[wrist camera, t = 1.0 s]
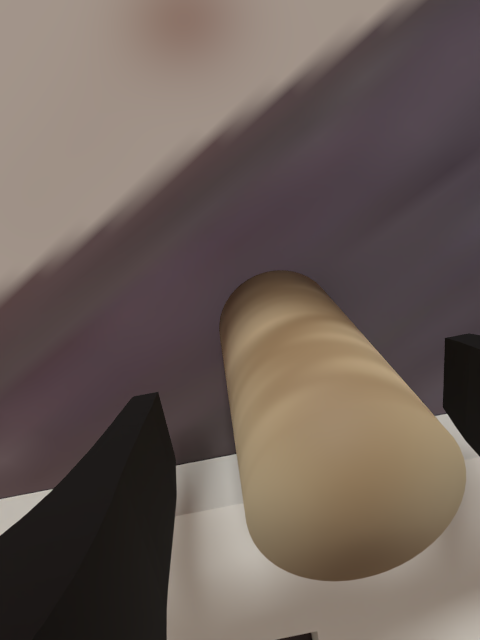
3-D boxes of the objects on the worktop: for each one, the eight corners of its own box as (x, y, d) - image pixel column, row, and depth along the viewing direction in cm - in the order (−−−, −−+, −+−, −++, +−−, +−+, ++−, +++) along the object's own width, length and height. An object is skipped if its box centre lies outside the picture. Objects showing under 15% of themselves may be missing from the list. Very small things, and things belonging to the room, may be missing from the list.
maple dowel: (329, 260, 14) (472, 384, 7) (337, 366, 16) (461, 558, 9) (209, 281, 14) (228, 429, 7) (229, 386, 16) (261, 598, 8)
